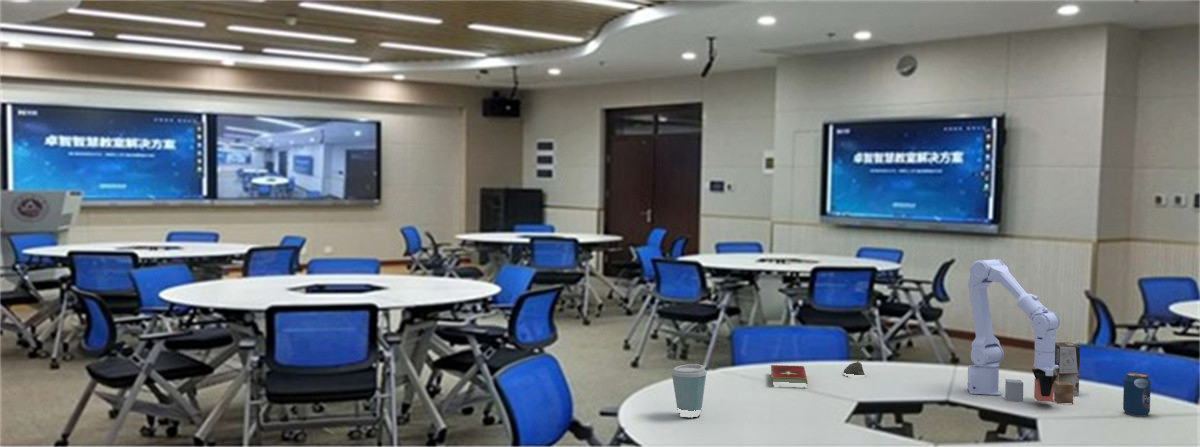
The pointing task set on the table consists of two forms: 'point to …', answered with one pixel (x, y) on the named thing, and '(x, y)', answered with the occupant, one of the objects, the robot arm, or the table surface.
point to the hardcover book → (788, 374)
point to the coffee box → (1067, 364)
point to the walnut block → (1063, 392)
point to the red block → (1038, 393)
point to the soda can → (1136, 394)
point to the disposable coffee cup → (689, 386)
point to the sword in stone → (855, 367)
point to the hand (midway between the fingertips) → (1043, 394)
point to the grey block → (1013, 390)
